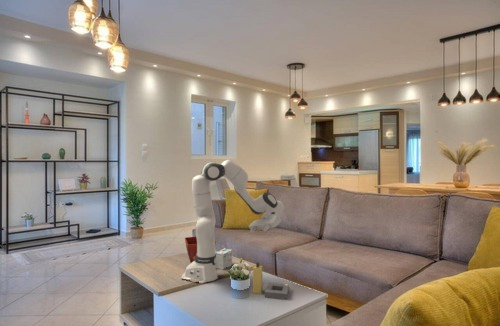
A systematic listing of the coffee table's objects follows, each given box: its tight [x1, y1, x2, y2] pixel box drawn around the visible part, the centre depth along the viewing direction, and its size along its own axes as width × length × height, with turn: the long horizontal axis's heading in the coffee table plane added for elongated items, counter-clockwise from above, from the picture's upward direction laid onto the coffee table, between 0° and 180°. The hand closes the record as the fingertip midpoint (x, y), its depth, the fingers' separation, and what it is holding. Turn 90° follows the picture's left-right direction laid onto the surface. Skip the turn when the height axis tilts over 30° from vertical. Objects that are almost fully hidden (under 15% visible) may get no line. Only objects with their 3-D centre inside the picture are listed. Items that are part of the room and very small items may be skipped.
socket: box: [264, 282, 290, 301], centre depth 175 cm, size 12×12×4 cm
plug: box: [252, 261, 263, 294], centre depth 177 cm, size 4×4×16 cm
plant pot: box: [184, 236, 217, 264], centre depth 221 cm, size 19×19×17 cm
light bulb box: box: [215, 247, 233, 270], centre depth 215 cm, size 11×7×11 cm, turn 149°
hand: (257, 231), depth 186 cm, fingers open, 8 cm apart
